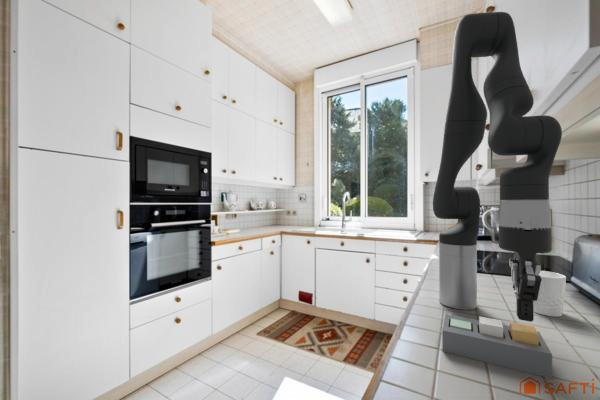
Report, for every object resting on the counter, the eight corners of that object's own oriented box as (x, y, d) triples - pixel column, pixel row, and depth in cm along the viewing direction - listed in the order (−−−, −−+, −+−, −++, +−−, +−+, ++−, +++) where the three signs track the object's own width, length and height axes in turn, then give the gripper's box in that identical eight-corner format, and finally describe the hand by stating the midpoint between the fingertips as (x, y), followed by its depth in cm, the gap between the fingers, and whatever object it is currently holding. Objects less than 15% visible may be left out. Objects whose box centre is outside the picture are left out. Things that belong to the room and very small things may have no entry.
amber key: (509, 332, 53) (509, 322, 53) (534, 337, 51) (534, 326, 51) (512, 340, 50) (512, 329, 50) (538, 346, 48) (538, 334, 48)
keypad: (445, 331, 61) (445, 313, 61) (539, 352, 52) (539, 331, 52) (442, 350, 53) (442, 330, 53) (552, 378, 45) (552, 354, 45)
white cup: (524, 311, 72) (523, 273, 72) (527, 303, 78) (527, 268, 78) (565, 320, 66) (565, 279, 66) (566, 311, 72) (566, 273, 72)
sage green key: (450, 327, 58) (450, 318, 58) (470, 332, 56) (470, 322, 56) (450, 335, 55) (450, 325, 55) (471, 339, 53) (471, 329, 53)
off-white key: (479, 326, 55) (479, 316, 55) (501, 330, 53) (500, 320, 53) (479, 333, 52) (479, 323, 52) (503, 338, 50) (503, 327, 50)
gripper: (495, 222, 58) (496, 304, 57) (502, 226, 46) (504, 328, 46) (541, 223, 54) (542, 311, 54) (562, 228, 43) (564, 340, 42)
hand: (524, 319), depth 50 cm, fingers closed
